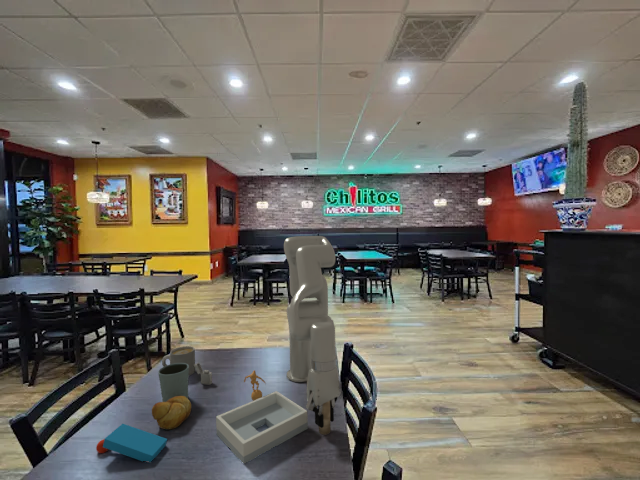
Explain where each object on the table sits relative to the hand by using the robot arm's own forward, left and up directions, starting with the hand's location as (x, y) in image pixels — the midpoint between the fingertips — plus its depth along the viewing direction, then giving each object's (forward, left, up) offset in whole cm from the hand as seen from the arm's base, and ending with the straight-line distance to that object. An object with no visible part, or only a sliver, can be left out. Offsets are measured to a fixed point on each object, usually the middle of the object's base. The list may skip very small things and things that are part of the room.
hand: (324, 421), depth 97 cm
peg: (0, 0, -3) cm, 3 cm away
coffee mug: (+19, -74, -3) cm, 77 cm away
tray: (+14, -13, -3) cm, 19 cm away
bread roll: (+32, -38, -3) cm, 49 cm away
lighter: (+15, -57, -3) cm, 59 cm away
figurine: (+7, -29, -3) cm, 30 cm away
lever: (+46, -31, -3) cm, 56 cm away
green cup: (+28, -51, -3) cm, 58 cm away
